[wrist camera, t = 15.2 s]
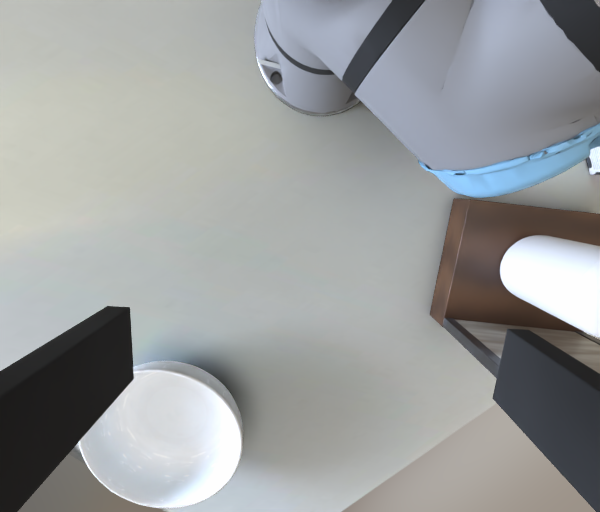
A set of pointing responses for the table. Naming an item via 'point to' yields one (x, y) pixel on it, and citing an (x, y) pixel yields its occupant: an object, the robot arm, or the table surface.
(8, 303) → the table surface
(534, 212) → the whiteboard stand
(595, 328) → the pill bottle
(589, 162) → the candy box
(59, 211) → the table surface
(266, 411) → the table surface
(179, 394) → the serving bowl
